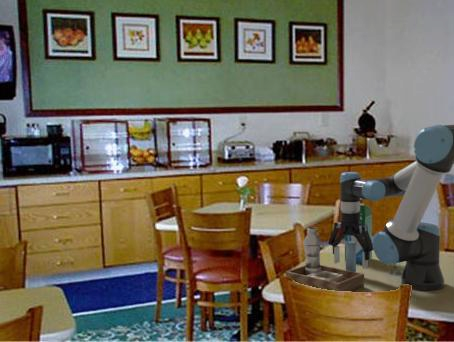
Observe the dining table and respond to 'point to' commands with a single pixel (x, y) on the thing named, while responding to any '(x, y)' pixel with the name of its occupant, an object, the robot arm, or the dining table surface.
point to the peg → (351, 256)
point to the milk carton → (364, 220)
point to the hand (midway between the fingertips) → (350, 265)
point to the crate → (328, 278)
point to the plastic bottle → (312, 251)
